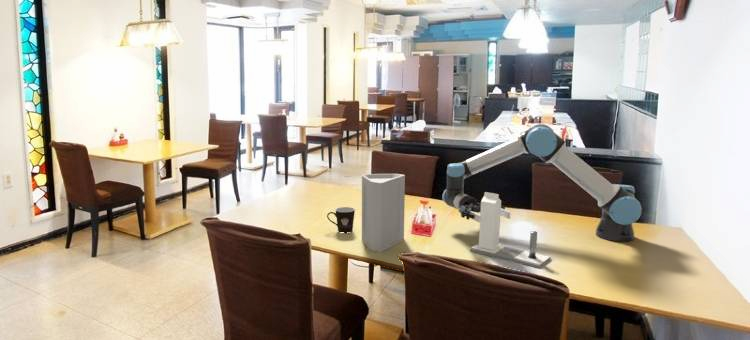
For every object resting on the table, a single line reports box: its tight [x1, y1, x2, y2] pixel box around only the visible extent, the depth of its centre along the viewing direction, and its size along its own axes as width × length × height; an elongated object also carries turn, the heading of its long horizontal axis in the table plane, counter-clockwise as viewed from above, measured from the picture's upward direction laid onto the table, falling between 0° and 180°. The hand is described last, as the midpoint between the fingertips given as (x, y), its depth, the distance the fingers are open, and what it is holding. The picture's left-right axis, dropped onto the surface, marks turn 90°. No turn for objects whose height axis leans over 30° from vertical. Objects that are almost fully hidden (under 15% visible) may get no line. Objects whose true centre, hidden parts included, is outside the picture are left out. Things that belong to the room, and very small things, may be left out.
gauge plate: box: [469, 243, 552, 269], centre depth 194 cm, size 28×12×1 cm, turn 51°
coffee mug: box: [326, 206, 356, 234], centre depth 222 cm, size 12×9×10 cm
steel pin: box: [528, 230, 538, 258], centre depth 187 cm, size 2×2×10 cm
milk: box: [478, 191, 502, 250], centre depth 197 cm, size 6×6×22 cm
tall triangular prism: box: [361, 173, 406, 253], centre depth 205 cm, size 19×15×28 cm
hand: (495, 217), depth 194 cm, fingers open, 13 cm apart
